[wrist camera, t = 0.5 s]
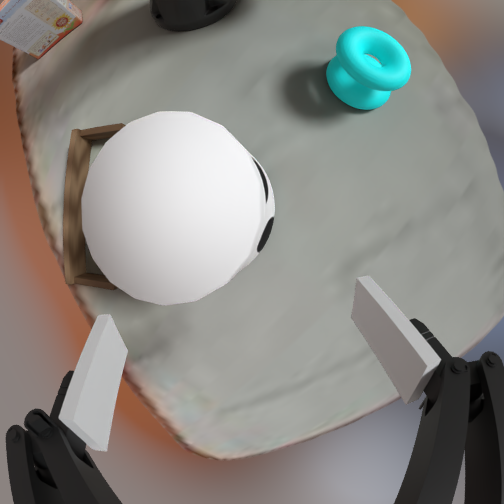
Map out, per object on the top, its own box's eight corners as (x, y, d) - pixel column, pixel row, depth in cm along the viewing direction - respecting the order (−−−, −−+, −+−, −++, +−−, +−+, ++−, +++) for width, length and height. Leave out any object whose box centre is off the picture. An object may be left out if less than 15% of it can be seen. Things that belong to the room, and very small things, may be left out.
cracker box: (82, 10, 32) (34, -30, 11) (83, 23, 33) (31, -20, 12) (38, 46, 34) (-14, 17, 13) (38, 60, 34) (-19, 32, 14)
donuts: (329, 61, 24) (348, 12, 22) (316, 94, 34) (334, 48, 32) (408, 100, 24) (418, 46, 22) (378, 123, 33) (391, 75, 32)
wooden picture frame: (87, 135, 36) (72, 129, 32) (132, 129, 36) (118, 121, 31) (81, 277, 40) (65, 283, 35) (125, 284, 39) (110, 291, 35)
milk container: (183, 289, 39) (123, 344, 21) (135, 182, 37) (52, 168, 19) (294, 240, 37) (317, 266, 19) (241, 127, 35) (217, 61, 17)
